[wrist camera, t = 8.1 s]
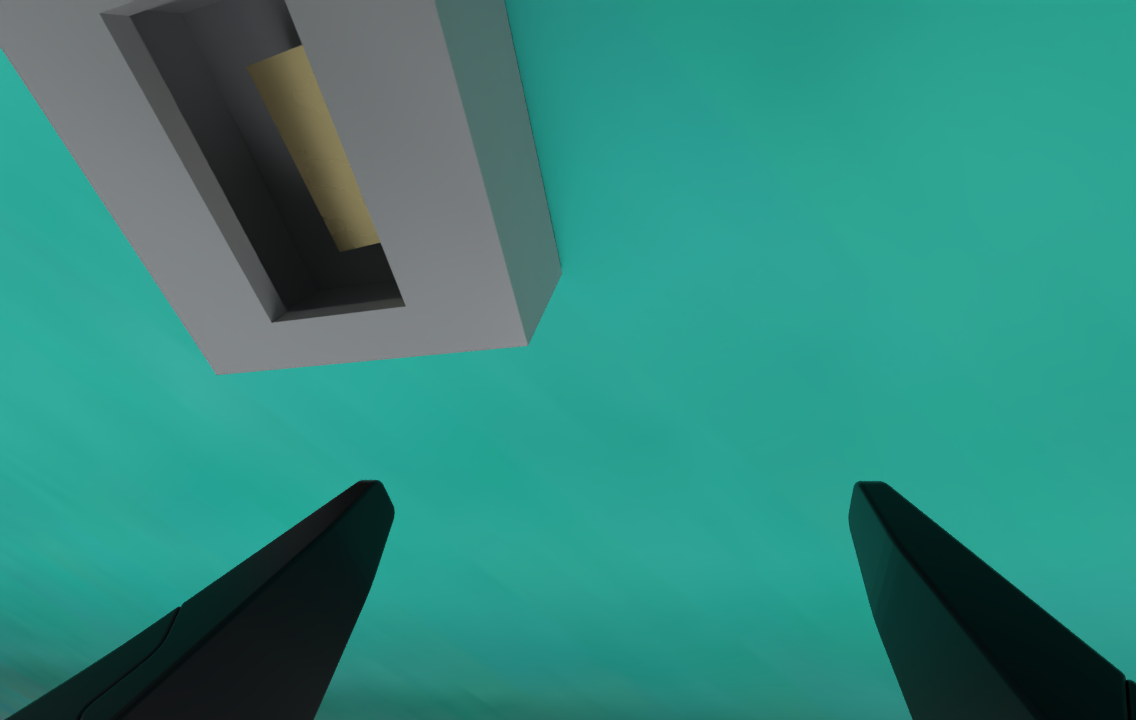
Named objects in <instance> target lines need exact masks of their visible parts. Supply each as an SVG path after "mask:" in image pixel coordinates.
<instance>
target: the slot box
mask: <svg viewBox="0 0 1136 720" xmlns="http://www.w3.org/2000/svg"><path fill="white" fill-rule="evenodd" d="M300 45H303V48H304V50H305V53H306V55H307V58H308V60H309V63H310V66H311V68H312V71H313V73H314V76H315V78H316V81H317V83H318V86H319V88H320V91H321V93H322V96H323V98H324V101H325V103H326V106H327V108H328V111H329V114H330V116H331V119H332V121H333V124H334V126H335V129H336V131H337V134H338V136H339V139H340V141H341V144H342V146H343V149H344V151H345V154H346V156H347V159H348V161H349V164H350V167H351V169H352V172H353V174H354V177H355V179H356V182H357V184H358V187H359V189H360V192H361V194H362V197H363V199H364V202H365V204H366V207H367V209H368V212H369V215H370V217H371V220H372V222H373V225H374V227H375V230H376V232H377V235H378V237H379V240H380V243H376V244H372V245H368V246H363V247H359V248H355V249H351V250H347V251H342V252H340V251H339V250H338V248H337V246H336V244H335V242H334V240H333V238H332V236H331V234H330V232H329V230H328V228H327V226H326V224H325V222H324V220H323V218H322V216H321V214H320V212H319V210H318V208H317V206H316V204H315V202H314V200H313V198H312V196H311V194H310V192H309V190H308V188H307V186H306V184H305V182H304V180H303V178H302V176H301V174H300V172H299V170H298V168H297V166H296V164H295V162H294V161H293V159H292V157H291V155H290V153H289V151H288V149H287V147H286V145H285V143H284V141H283V139H282V137H281V135H280V133H279V131H278V129H277V127H276V125H275V123H274V121H273V119H272V117H271V115H270V113H269V111H268V109H267V107H266V105H265V103H264V101H263V99H262V97H261V95H260V93H259V91H258V89H257V87H256V85H255V83H254V81H253V79H252V77H251V75H250V73H249V72H248V70H247V68H246V67H247V66H249V65H252V64H254V63H257V62H260V61H262V60H265V59H267V58H270V57H272V56H275V55H277V54H280V53H283V52H285V51H288V50H290V49H293V48H295V47H298V46H300ZM0 47H1V49H2V50H3V52H4V53H5V55H6V56H7V58H8V59H9V61H10V62H11V64H12V65H13V67H14V68H15V70H16V71H17V73H18V74H19V76H20V77H21V79H22V80H23V82H24V83H25V85H26V86H27V88H28V89H29V91H30V93H31V94H32V96H33V97H34V99H35V100H36V102H37V103H38V105H39V106H40V108H41V109H42V111H43V112H44V114H45V115H46V117H47V118H48V120H49V121H50V123H51V124H52V126H53V127H54V129H55V130H56V132H57V133H58V135H59V136H60V138H61V140H62V141H63V143H64V144H65V146H66V147H67V149H68V150H69V152H70V153H71V155H72V156H73V158H74V159H75V161H76V162H77V164H78V165H79V167H80V168H81V170H82V171H83V173H84V174H85V176H86V177H87V179H88V180H89V182H90V184H91V185H92V187H93V188H94V190H95V191H96V193H97V194H98V196H99V197H100V199H101V200H102V202H103V203H104V205H105V206H106V208H107V209H108V211H109V212H110V214H111V215H112V217H113V218H114V220H115V221H116V223H117V224H118V226H119V227H120V229H121V231H122V232H123V234H124V235H125V237H126V238H127V240H128V241H129V243H130V244H131V246H132V247H133V249H134V250H135V252H136V253H137V255H138V256H139V258H140V259H141V261H142V262H143V264H144V265H145V267H146V268H147V270H148V271H149V273H150V275H151V276H152V278H153V279H154V281H155V282H156V284H157V285H158V287H159V288H160V290H161V291H162V293H163V294H164V296H165V297H166V299H167V300H168V302H169V303H170V305H171V306H172V308H173V309H174V311H175V312H176V314H177V315H178V317H179V318H180V320H181V322H182V323H183V325H184V326H185V328H186V329H187V331H188V332H189V334H190V335H191V337H192V338H193V340H194V341H195V343H196V344H197V346H198V347H199V349H200V350H201V352H202V353H203V355H204V356H205V358H206V359H207V361H208V362H209V364H210V366H211V367H212V369H213V370H214V372H215V373H216V375H222V374H232V373H243V372H254V371H264V370H275V369H286V368H296V367H307V366H318V365H328V364H339V363H350V362H360V361H371V360H381V359H392V358H403V357H413V356H424V355H435V354H445V353H456V352H467V351H477V350H488V349H499V348H509V347H520V346H528V344H529V342H530V340H531V338H532V336H533V334H534V332H535V330H536V328H537V325H538V323H539V321H540V319H541V317H542V315H543V313H544V311H545V308H546V306H547V304H548V302H549V300H550V298H551V296H552V294H553V291H554V289H555V287H556V285H557V283H558V281H559V279H560V277H561V274H562V271H561V266H560V261H559V256H558V252H557V247H556V242H555V238H554V233H553V228H552V224H551V219H550V214H549V209H548V205H547V200H546V195H545V191H544V186H543V181H542V176H541V172H540V167H539V162H538V158H537V153H536V148H535V144H534V139H533V134H532V129H531V125H530V120H529V115H528V111H527V106H526V101H525V96H524V92H523V87H522V82H521V78H520V73H519V68H518V64H517V59H516V54H515V49H514V45H513V40H512V35H511V31H510V26H509V21H508V17H507V12H506V7H505V2H504V0H0Z"/></svg>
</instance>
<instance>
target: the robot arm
mask: <svg viewBox="0 0 1136 720" xmlns="http://www.w3.org/2000/svg"><path fill="white" fill-rule="evenodd" d="M394 514H395V512H394V506H393V504H392V502H391V500H390V498H389V496H388V493H387V491H386V489H385V487H384V485H383V484H382V483H381V482H380V481H379V480H361V481H358V482H357V483H355V484H354V485H353V486H351V487H350V488H348V489H347V490H345V491H344V492H342V493H341V494H340V495H338V496H337V497H335V498H334V499H332V500H331V501H330V502H328V503H327V504H325V505H324V506H322V507H321V508H319V509H318V510H317V511H315V512H314V513H312V514H311V515H309V516H308V517H307V518H305V519H304V520H302V521H301V522H299V523H298V524H296V525H295V526H294V527H292V528H291V529H289V530H288V531H286V532H285V533H284V534H282V535H281V536H279V537H278V538H276V539H275V540H273V541H272V542H271V543H269V544H268V545H266V546H265V547H263V548H262V549H260V550H259V551H258V552H256V553H255V554H253V555H252V556H250V557H249V558H248V559H246V560H245V561H243V562H242V563H240V564H239V565H237V566H236V567H235V568H233V569H232V570H230V571H229V572H227V573H226V574H225V575H223V576H222V577H220V578H219V579H217V580H216V581H214V582H213V583H212V584H210V585H209V586H207V587H206V588H204V589H203V590H202V591H200V592H199V593H197V594H196V595H194V596H193V597H191V598H190V599H189V600H187V601H186V602H184V603H183V604H182V606H181V607H177V608H175V609H174V610H173V611H171V612H170V613H168V614H167V615H166V616H164V617H163V618H161V619H160V620H158V621H157V622H156V623H154V624H153V625H151V626H150V627H148V628H147V629H145V630H144V631H142V632H141V633H139V634H138V635H136V636H135V637H133V638H132V639H130V640H129V641H127V642H126V643H125V644H123V645H122V646H120V647H118V648H117V649H115V650H114V651H112V652H111V653H109V654H108V655H106V656H104V657H103V658H101V659H100V660H98V661H97V662H95V663H94V664H92V665H90V666H89V667H87V668H86V669H84V670H83V671H81V672H79V673H78V674H76V675H75V676H73V677H71V678H70V679H68V680H67V681H65V682H64V683H62V684H60V685H59V686H57V687H56V688H54V689H52V690H51V691H49V692H48V693H46V694H45V695H43V696H41V697H40V698H38V699H37V700H35V701H33V702H32V703H30V704H29V705H27V706H25V707H24V708H22V709H21V710H19V711H18V712H16V713H14V714H13V715H11V716H10V717H8V718H6V719H5V720H314V718H315V716H316V713H317V711H318V709H319V706H320V704H321V702H322V700H323V697H324V695H325V693H326V690H327V688H328V686H329V684H330V681H331V679H332V677H333V674H334V672H335V670H336V667H337V665H338V663H339V661H340V658H341V656H342V654H343V651H344V649H345V647H346V645H347V642H348V640H349V638H350V635H351V633H352V631H353V628H354V626H355V624H356V622H357V619H358V617H359V615H360V612H361V610H362V608H363V605H364V603H365V601H366V599H367V596H368V594H369V591H370V589H371V586H372V583H373V580H374V578H375V575H376V572H377V569H378V566H379V562H380V559H381V556H382V553H383V550H384V547H385V544H386V541H387V538H388V535H389V532H390V529H391V526H392V523H393V520H394ZM848 519H849V527H850V531H851V535H852V539H853V543H854V547H855V550H856V554H857V558H858V562H859V566H860V569H861V573H862V577H863V581H864V584H865V588H866V592H867V596H868V600H869V603H870V607H871V610H872V614H873V617H874V620H875V623H876V626H877V629H878V631H879V634H880V637H881V639H882V642H883V645H884V647H885V650H886V652H887V655H888V657H889V660H890V663H891V665H892V668H893V670H894V673H895V675H896V678H897V681H898V683H899V686H900V688H901V691H902V693H903V696H904V699H905V701H906V704H907V706H908V709H909V711H910V714H911V717H912V719H913V720H1136V683H1135V682H1134V681H1132V680H1126V677H1125V675H1124V674H1123V673H1122V672H1121V671H1120V670H1119V669H1117V668H1116V667H1115V666H1114V665H1112V664H1111V663H1110V662H1109V661H1107V660H1106V659H1105V658H1104V657H1102V656H1101V655H1100V654H1099V653H1097V652H1096V651H1095V650H1094V649H1093V648H1091V647H1090V646H1089V645H1088V644H1086V643H1085V642H1084V641H1083V640H1081V639H1080V638H1079V637H1078V636H1076V635H1075V634H1074V633H1073V632H1071V631H1070V630H1069V629H1068V628H1066V627H1065V626H1064V625H1063V624H1061V623H1060V622H1059V621H1058V620H1056V619H1055V618H1054V617H1053V616H1051V615H1050V614H1049V613H1048V612H1046V611H1045V610H1044V609H1043V608H1041V607H1040V606H1039V605H1038V604H1036V603H1035V602H1034V601H1033V600H1031V599H1030V598H1029V597H1028V596H1026V595H1025V594H1024V593H1023V592H1021V591H1020V590H1019V589H1018V588H1016V587H1015V586H1014V585H1013V584H1011V583H1010V582H1009V581H1008V580H1006V579H1005V578H1004V577H1003V576H1001V575H1000V574H999V573H998V572H996V571H995V570H994V569H993V568H992V567H990V566H989V565H988V564H987V563H985V562H984V561H983V560H982V559H980V558H979V557H978V556H977V555H975V554H974V553H973V552H972V551H970V550H969V549H968V548H967V547H965V546H964V545H963V544H962V543H960V542H959V541H958V540H957V539H955V538H954V537H953V536H952V535H950V534H949V533H948V532H947V531H945V530H944V529H943V528H942V527H940V526H939V525H938V524H937V523H935V522H934V521H933V520H932V519H930V518H929V517H928V516H927V515H925V514H924V513H923V512H922V511H920V510H919V509H918V508H917V507H915V506H914V505H913V504H912V503H910V502H909V501H908V500H907V499H905V498H904V497H903V496H902V495H900V494H899V493H898V492H897V491H895V490H894V489H893V488H892V487H891V486H889V485H888V484H886V483H884V482H882V481H859V482H856V483H855V485H854V488H853V493H852V498H851V504H850V509H849V517H848Z"/></svg>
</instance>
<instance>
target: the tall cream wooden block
mask: <svg viewBox="0 0 1136 720" xmlns="http://www.w3.org/2000/svg"><path fill="white" fill-rule="evenodd" d="M246 68H247V70H248V72H249V73H250V75H251V77H252V79H253V81H254V83H255V85H256V87H257V89H258V91H259V93H260V95H261V97H262V99H263V101H264V103H265V105H266V107H267V109H268V111H269V113H270V115H271V117H272V119H273V121H274V123H275V125H276V127H277V129H278V131H279V133H280V135H281V137H282V139H283V141H284V143H285V145H286V147H287V149H288V151H289V153H290V155H291V157H292V159H293V161H294V162H295V164H296V166H297V168H298V170H299V172H300V174H301V176H302V178H303V180H304V182H305V184H306V186H307V188H308V190H309V192H310V194H311V196H312V198H313V200H314V202H315V204H316V206H317V208H318V210H319V212H320V214H321V216H322V218H323V220H324V222H325V224H326V226H327V228H328V230H329V232H330V234H331V236H332V238H333V240H334V242H335V244H336V246H337V248H338V250H339V251H340V252H342V251H347V250H351V249H355V248H359V247H363V246H368V245H372V244H376V243H380V240H379V237H378V235H377V232H376V230H375V227H374V225H373V222H372V220H371V217H370V215H369V212H368V209H367V207H366V204H365V202H364V199H363V197H362V194H361V192H360V189H359V187H358V184H357V182H356V179H355V177H354V174H353V172H352V169H351V167H350V164H349V161H348V159H347V156H346V154H345V151H344V149H343V146H342V144H341V141H340V139H339V136H338V134H337V131H336V129H335V126H334V124H333V121H332V119H331V116H330V114H329V111H328V108H327V106H326V103H325V101H324V98H323V96H322V93H321V91H320V88H319V86H318V83H317V81H316V78H315V76H314V73H313V71H312V68H311V66H310V63H309V60H308V58H307V55H306V53H305V50H304V48H303V45H300V46H298V47H295V48H293V49H290V50H288V51H285V52H283V53H280V54H277V55H275V56H272V57H270V58H267V59H265V60H262V61H260V62H257V63H254V64H252V65H249V66H247V67H246Z"/></svg>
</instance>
